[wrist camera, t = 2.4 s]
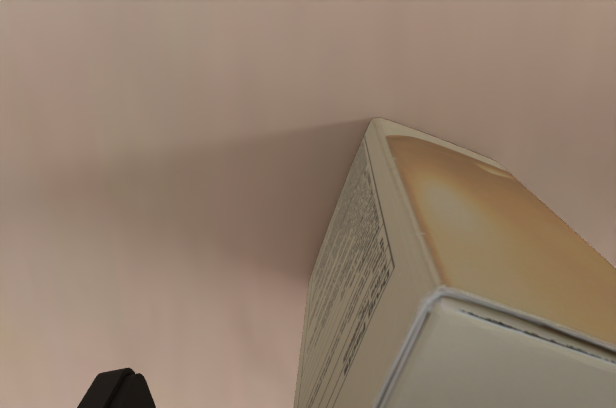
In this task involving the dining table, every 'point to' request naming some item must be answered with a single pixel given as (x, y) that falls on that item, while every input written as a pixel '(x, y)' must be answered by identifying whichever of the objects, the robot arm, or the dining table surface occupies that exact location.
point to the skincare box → (452, 290)
